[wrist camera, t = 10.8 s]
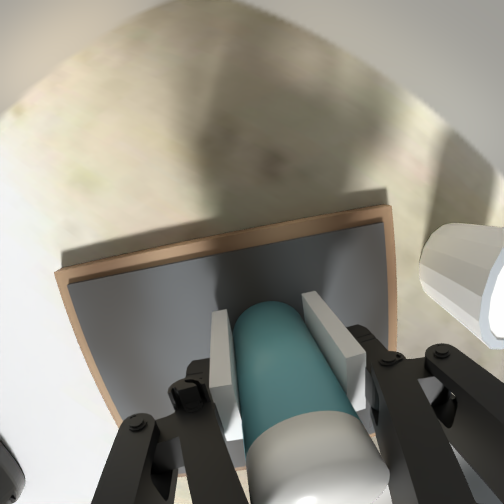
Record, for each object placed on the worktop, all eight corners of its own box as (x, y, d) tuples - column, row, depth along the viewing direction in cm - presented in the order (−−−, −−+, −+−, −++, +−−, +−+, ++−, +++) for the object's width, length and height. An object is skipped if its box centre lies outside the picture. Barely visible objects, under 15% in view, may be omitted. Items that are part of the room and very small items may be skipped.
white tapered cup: (402, 233, 19) (477, 260, 12) (473, 201, 19) (547, 214, 12) (418, 324, 20) (478, 372, 13) (483, 285, 20) (545, 316, 14)
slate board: (150, 469, 21) (148, 480, 20) (61, 268, 17) (51, 274, 16) (385, 423, 22) (391, 432, 21) (383, 204, 18) (394, 206, 17)
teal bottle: (246, 373, 18) (273, 540, 7) (222, 315, 17) (230, 488, 6) (312, 351, 18) (390, 501, 7) (294, 290, 17) (387, 435, 6)
